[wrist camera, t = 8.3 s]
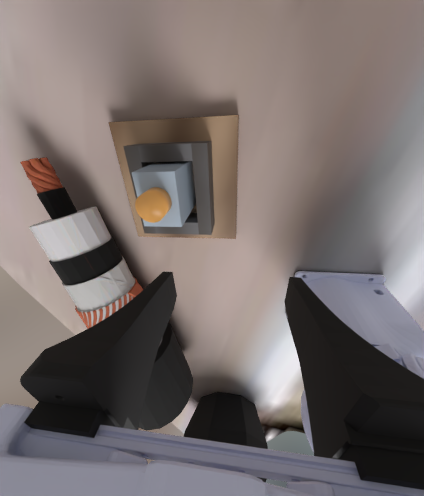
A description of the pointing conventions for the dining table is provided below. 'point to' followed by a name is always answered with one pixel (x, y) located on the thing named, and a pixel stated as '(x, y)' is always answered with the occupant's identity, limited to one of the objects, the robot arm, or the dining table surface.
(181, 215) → the connector
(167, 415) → the cable
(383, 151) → the dining table surface
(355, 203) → the dining table surface
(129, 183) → the holder
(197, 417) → the bottle
